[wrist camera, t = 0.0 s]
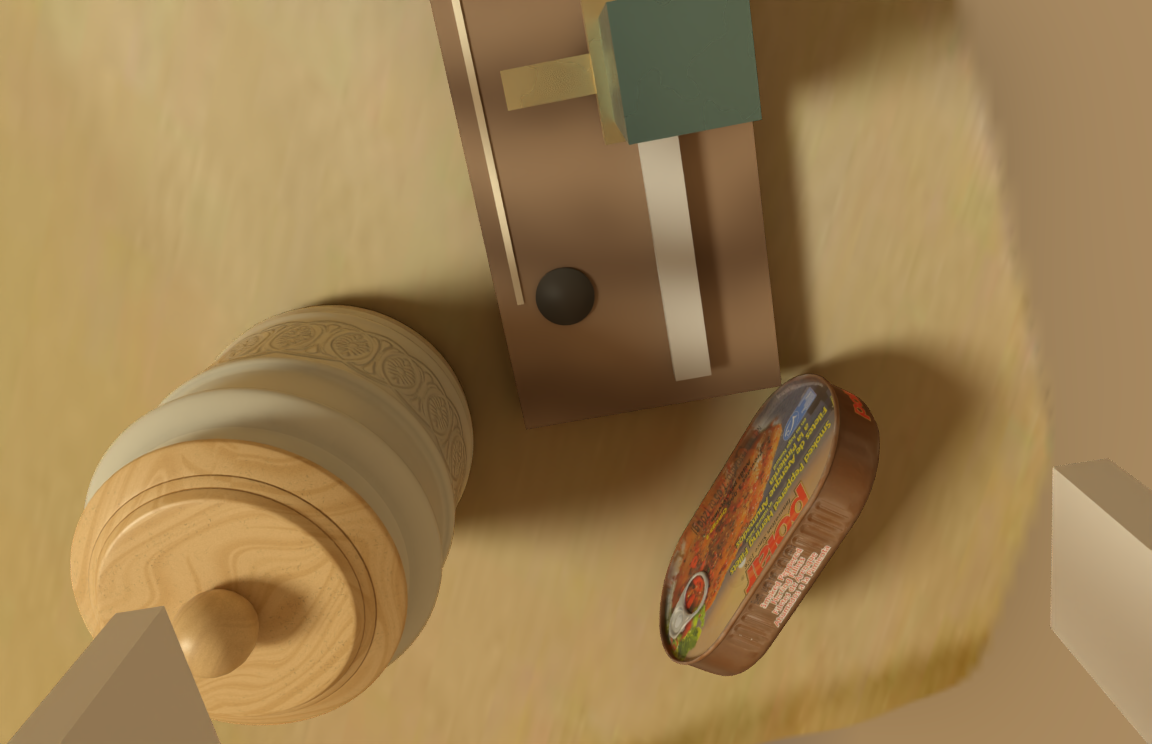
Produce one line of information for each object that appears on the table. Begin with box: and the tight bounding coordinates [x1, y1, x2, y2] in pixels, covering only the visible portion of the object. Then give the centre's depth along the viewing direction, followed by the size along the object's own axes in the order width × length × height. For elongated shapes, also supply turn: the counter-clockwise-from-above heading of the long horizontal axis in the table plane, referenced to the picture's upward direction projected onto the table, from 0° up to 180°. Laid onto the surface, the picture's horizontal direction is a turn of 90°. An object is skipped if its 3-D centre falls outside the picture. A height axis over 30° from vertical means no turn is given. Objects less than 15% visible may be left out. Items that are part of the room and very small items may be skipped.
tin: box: [659, 374, 880, 676], centre depth 39 cm, size 15×3×8 cm, turn 153°
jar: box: [70, 305, 474, 725], centre depth 34 cm, size 13×13×18 cm
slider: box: [500, 0, 762, 145], centre depth 28 cm, size 5×8×13 cm, turn 100°
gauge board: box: [430, 0, 782, 429], centre depth 34 cm, size 30×12×6 cm, turn 11°
